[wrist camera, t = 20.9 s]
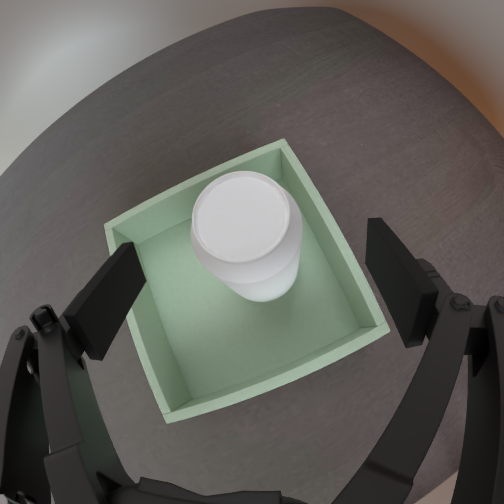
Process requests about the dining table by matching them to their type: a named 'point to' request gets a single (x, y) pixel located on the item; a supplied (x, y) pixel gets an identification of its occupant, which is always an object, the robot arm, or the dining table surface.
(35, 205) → the dining table surface
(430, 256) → the dining table surface
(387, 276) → the robot arm
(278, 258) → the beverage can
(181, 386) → the bin
